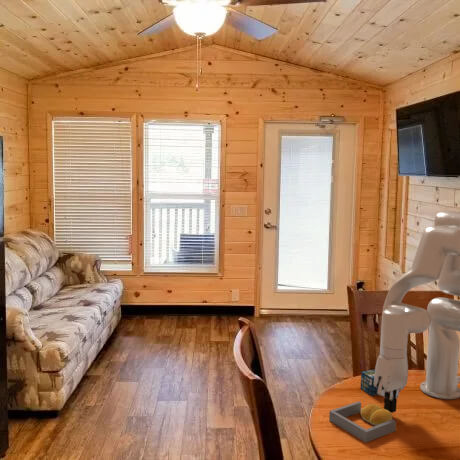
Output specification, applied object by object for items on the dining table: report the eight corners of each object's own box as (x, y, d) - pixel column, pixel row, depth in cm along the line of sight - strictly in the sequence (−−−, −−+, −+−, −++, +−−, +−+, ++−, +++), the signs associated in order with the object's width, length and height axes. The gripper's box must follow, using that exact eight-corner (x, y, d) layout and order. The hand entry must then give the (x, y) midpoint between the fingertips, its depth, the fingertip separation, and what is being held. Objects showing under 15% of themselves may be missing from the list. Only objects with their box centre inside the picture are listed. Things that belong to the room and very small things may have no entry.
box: (358, 410, 155) (358, 401, 155) (395, 430, 143) (396, 420, 143) (329, 420, 149) (329, 410, 148) (365, 442, 137) (366, 432, 137)
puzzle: (386, 393, 168) (387, 375, 167) (371, 396, 166) (372, 378, 165) (374, 386, 173) (375, 369, 173) (360, 388, 171) (360, 371, 170)
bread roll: (380, 430, 144) (381, 417, 143) (355, 417, 151) (356, 404, 151) (398, 422, 149) (399, 409, 148) (373, 410, 156) (374, 397, 155)
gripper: (399, 343, 157) (396, 399, 159) (365, 351, 149) (362, 411, 151) (420, 350, 151) (416, 409, 153) (386, 360, 143) (382, 422, 145)
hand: (389, 410), depth 152 cm, fingers closed
